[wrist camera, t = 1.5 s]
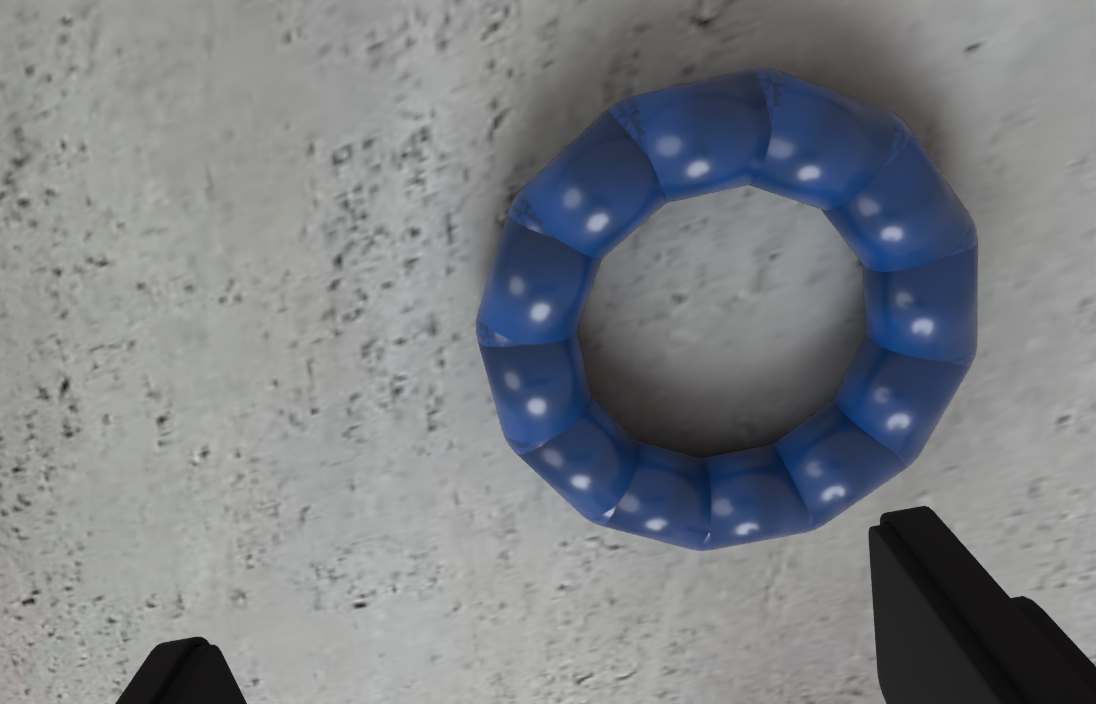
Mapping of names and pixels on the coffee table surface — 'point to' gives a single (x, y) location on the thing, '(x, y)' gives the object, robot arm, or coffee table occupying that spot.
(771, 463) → the blue spotted ring
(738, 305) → the coffee table surface
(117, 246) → the coffee table surface
